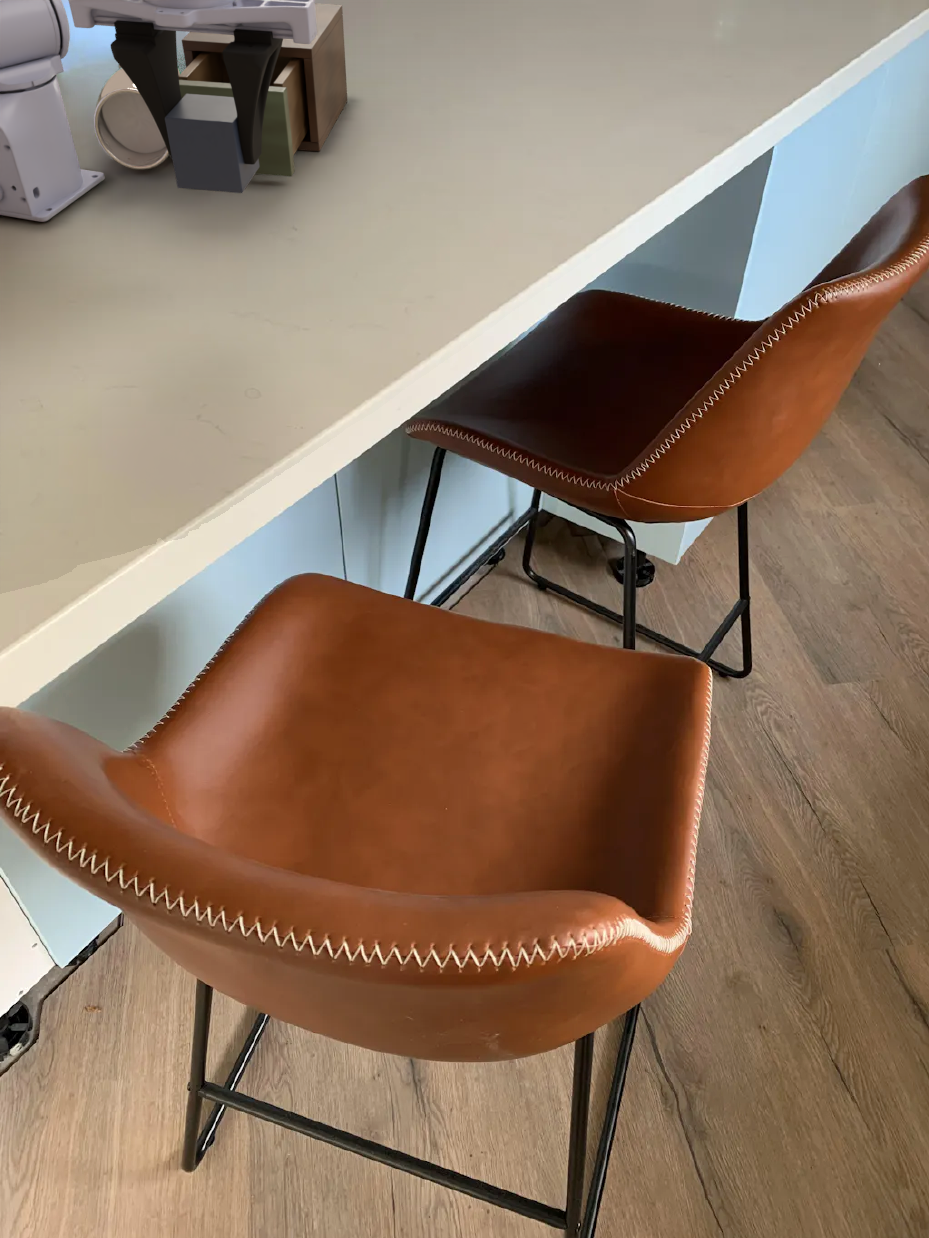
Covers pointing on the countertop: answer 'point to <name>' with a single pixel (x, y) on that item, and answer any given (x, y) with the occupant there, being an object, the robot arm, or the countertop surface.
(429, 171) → the countertop surface
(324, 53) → the cabinet
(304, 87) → the drawer
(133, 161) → the beige cup
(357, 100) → the countertop surface
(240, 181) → the block
